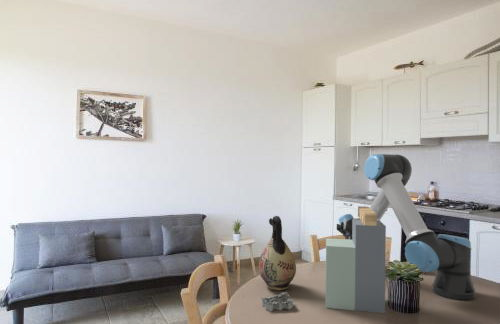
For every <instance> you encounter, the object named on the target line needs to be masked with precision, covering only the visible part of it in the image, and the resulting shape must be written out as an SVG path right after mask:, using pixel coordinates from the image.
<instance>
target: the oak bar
mask: <svg viewBox="0 0 500 324" xmlns="http://www.w3.org/2000/svg"><path fill="white" fill-rule="evenodd" d="M357 217H358V218H360V219H361V221H362V222H363V224H364V225H369V226H377V214H376V213H375V212H374V211H372V210H371V209H370V206H362V205H361V206H358V207H357Z"/></svg>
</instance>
